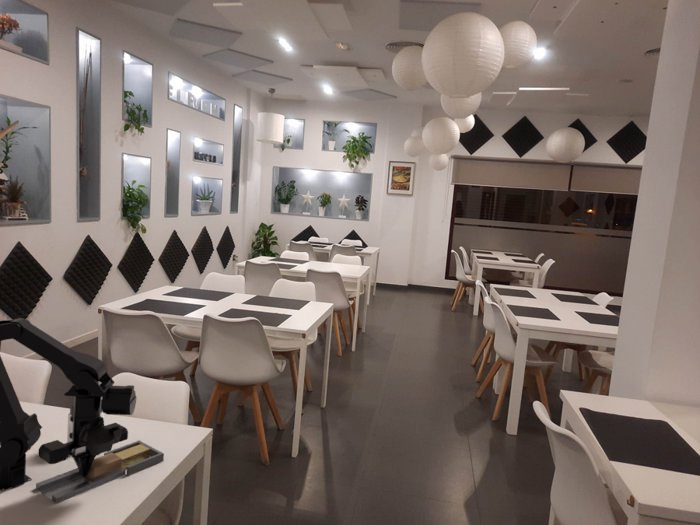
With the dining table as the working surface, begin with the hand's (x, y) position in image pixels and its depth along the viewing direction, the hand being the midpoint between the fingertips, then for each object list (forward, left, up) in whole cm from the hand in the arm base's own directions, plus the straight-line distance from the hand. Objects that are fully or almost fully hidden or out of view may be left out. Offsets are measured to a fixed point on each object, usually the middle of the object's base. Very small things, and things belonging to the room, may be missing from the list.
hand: (83, 476), depth 120 cm
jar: (-18, +10, -2) cm, 21 cm away
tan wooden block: (0, +14, -1) cm, 14 cm away
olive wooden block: (0, +10, -1) cm, 10 cm away
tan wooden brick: (0, +5, -1) cm, 5 cm away
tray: (0, +13, -2) cm, 13 cm away
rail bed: (0, 0, -2) cm, 2 cm away
